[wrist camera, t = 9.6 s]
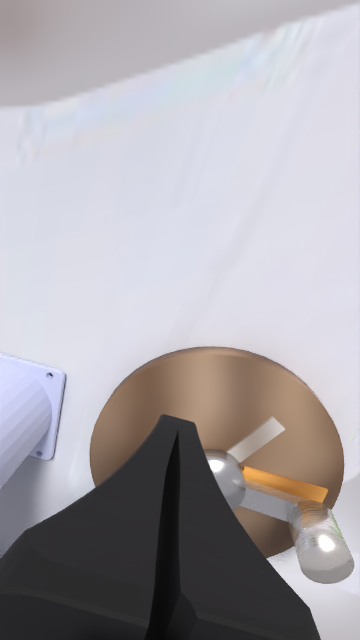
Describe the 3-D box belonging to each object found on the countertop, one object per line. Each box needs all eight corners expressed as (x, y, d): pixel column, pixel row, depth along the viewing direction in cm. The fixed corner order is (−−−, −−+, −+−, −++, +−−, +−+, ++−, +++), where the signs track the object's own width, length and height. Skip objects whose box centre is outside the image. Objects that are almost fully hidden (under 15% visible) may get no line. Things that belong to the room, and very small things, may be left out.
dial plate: (80, 512, 25) (72, 531, 24) (120, 316, 20) (112, 324, 19) (285, 569, 25) (290, 592, 24) (377, 386, 20) (392, 399, 18)
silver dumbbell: (173, 488, 22) (166, 541, 18) (192, 440, 20) (189, 486, 17) (311, 534, 22) (333, 597, 18) (339, 490, 20) (370, 547, 17)
